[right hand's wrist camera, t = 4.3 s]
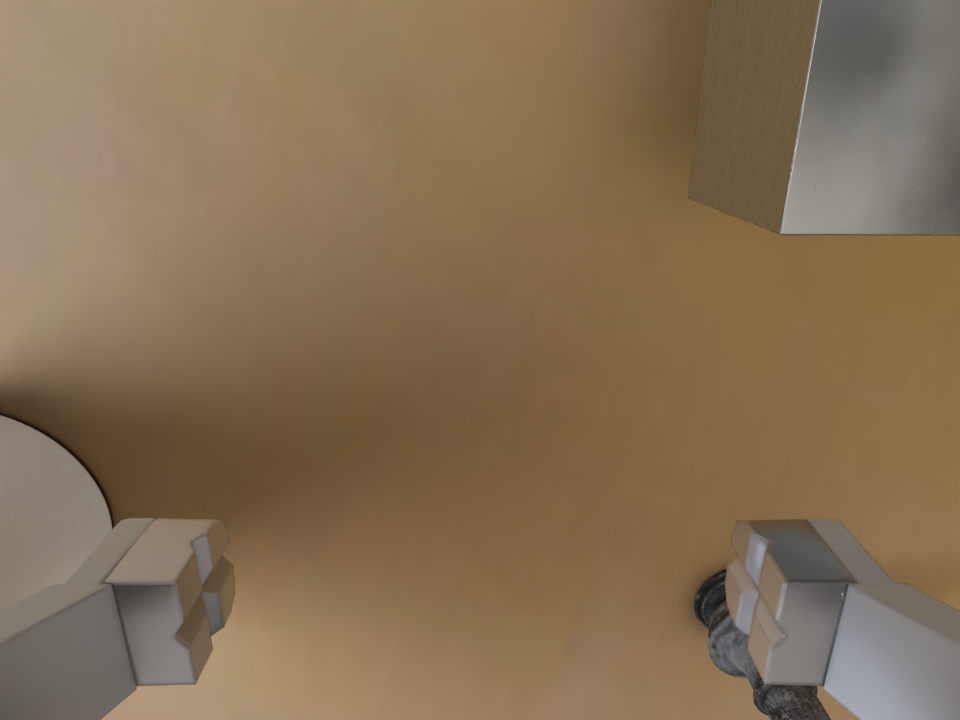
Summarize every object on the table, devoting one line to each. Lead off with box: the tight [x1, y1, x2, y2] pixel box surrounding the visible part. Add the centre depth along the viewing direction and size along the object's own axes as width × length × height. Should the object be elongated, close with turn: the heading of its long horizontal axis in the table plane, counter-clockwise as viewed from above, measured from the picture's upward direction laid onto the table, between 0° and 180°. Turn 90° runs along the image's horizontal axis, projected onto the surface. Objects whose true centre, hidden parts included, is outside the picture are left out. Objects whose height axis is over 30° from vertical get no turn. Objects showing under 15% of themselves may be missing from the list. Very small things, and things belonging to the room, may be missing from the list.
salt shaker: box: [694, 572, 831, 720], centre depth 38 cm, size 6×6×12 cm
